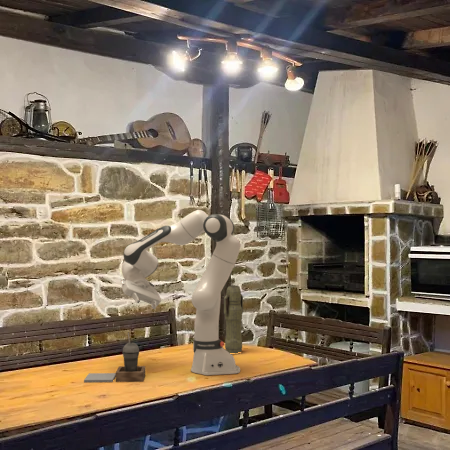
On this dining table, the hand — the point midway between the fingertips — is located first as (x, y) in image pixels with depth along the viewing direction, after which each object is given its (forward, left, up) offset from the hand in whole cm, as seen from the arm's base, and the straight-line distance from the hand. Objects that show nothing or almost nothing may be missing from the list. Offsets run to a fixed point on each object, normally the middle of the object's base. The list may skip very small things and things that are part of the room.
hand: (146, 304), depth 272 cm
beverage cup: (+6, +8, -31) cm, 33 cm away
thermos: (-42, -45, -31) cm, 69 cm away
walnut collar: (+6, +8, -31) cm, 32 cm away
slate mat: (+19, +8, -31) cm, 37 cm away
